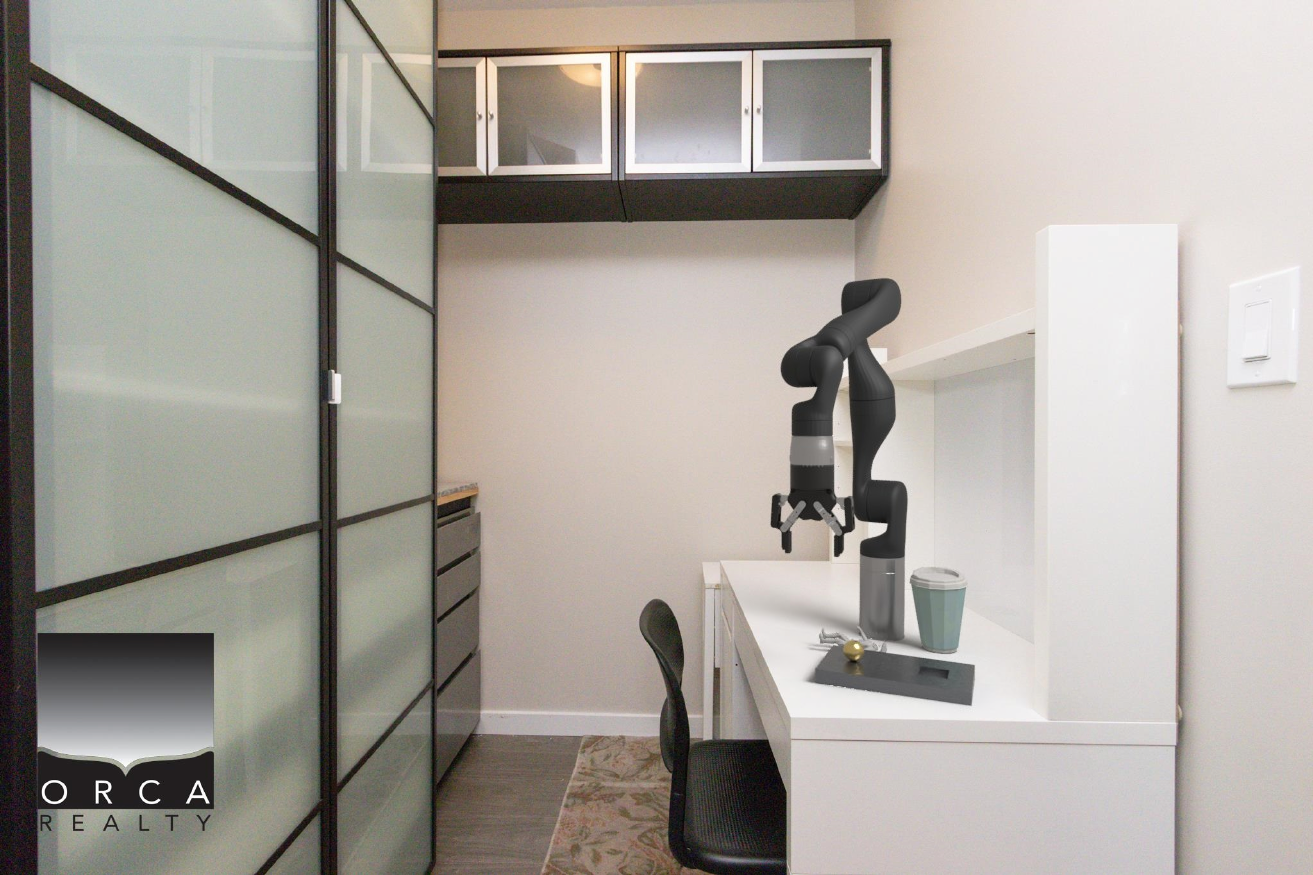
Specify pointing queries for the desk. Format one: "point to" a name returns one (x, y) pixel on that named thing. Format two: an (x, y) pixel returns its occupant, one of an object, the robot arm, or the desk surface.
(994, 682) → the desk surface
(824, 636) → the soldier figure
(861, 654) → the brass knob
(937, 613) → the disposable coffee cup
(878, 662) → the bore plate
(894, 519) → the robot arm
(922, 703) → the desk surface
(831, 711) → the desk surface
